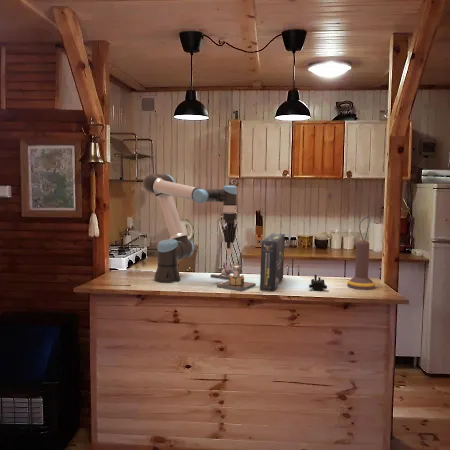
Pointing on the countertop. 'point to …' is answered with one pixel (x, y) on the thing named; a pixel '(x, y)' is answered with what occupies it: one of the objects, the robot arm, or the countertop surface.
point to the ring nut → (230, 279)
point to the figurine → (227, 270)
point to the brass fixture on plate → (236, 287)
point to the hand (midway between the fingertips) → (229, 253)
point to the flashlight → (362, 266)
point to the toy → (317, 284)
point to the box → (272, 262)
